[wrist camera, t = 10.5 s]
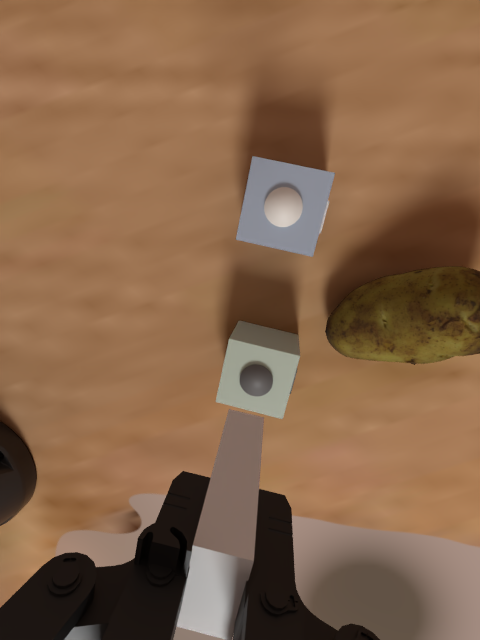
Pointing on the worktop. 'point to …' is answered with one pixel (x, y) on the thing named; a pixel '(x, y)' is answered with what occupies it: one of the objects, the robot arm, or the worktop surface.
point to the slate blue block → (284, 205)
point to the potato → (410, 317)
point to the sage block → (259, 369)
